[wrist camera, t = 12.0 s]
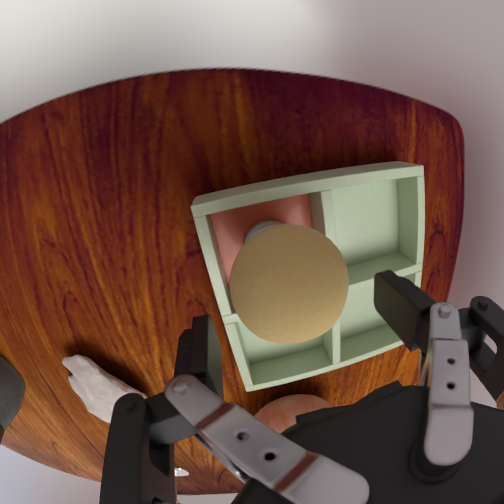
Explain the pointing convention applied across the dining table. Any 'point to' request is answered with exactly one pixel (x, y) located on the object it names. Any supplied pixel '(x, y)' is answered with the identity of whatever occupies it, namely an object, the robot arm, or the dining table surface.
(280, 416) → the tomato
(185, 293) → the dining table surface
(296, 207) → the grid
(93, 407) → the decorative stone
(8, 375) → the bottle
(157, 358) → the dining table surface
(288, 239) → the light bulb
